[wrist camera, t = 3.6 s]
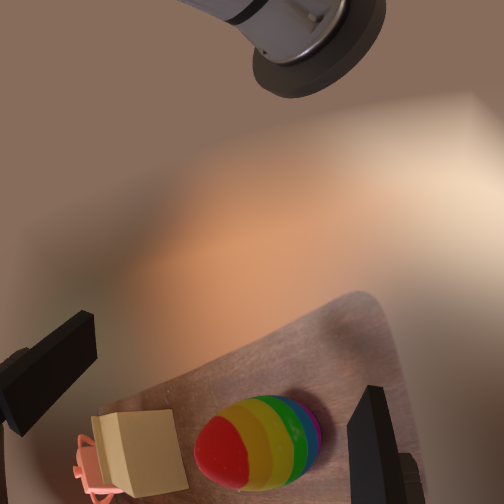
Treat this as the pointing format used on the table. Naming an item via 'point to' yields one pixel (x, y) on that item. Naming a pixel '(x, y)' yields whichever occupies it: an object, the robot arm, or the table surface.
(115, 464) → the tan cardboard box
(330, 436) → the table surface
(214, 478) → the decorative egg
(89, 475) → the pink ceramic boxy vessel
